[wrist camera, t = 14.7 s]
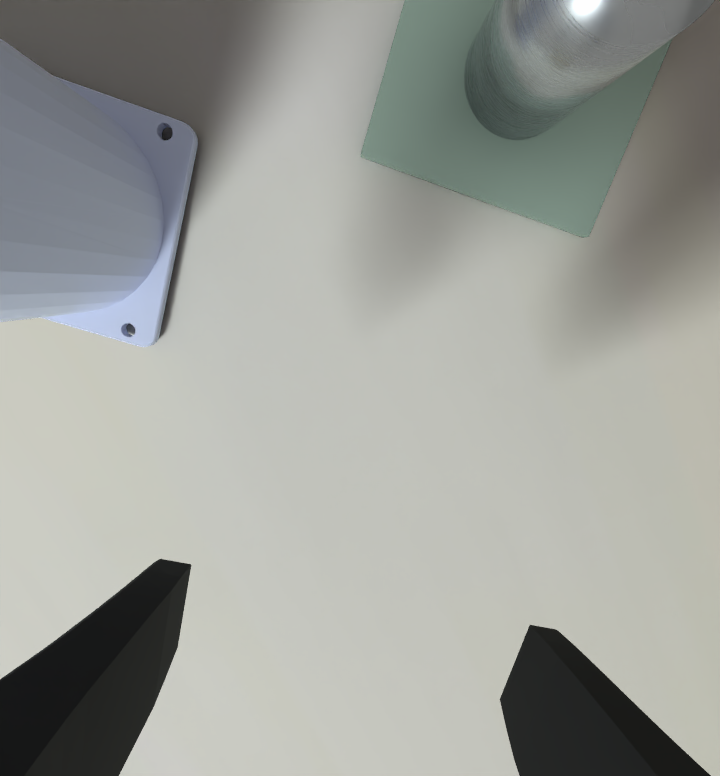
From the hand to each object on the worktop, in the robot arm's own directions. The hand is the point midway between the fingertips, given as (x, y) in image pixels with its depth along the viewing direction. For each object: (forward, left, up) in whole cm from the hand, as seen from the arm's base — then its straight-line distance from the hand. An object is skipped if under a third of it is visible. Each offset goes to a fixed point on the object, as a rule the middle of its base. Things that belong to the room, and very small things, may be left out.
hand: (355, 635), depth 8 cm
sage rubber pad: (+1, +15, -9) cm, 18 cm away
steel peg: (+1, +15, -9) cm, 18 cm away
